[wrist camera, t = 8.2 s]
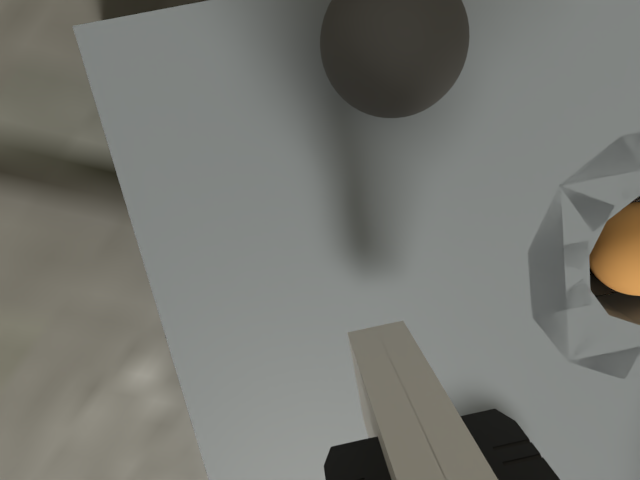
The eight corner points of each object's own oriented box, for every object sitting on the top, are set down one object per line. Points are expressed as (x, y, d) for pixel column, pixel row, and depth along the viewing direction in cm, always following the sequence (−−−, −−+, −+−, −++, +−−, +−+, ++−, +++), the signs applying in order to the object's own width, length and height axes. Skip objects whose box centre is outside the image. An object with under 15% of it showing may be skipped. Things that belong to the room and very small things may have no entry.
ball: (587, 311, 18) (703, 313, 16) (584, 220, 17) (707, 215, 15) (585, 273, 20) (684, 273, 19) (582, 194, 19) (686, 187, 18)
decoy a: (327, 125, 15) (342, 136, 12) (303, -10, 14) (311, -42, 10) (449, 101, 15) (500, 106, 12) (435, -35, 14) (486, -75, 11)
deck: (246, 535, 22) (242, 590, 20) (103, 35, 16) (72, 26, 14) (751, 430, 22) (807, 472, 20) (786, -95, 17) (872, -125, 14)
